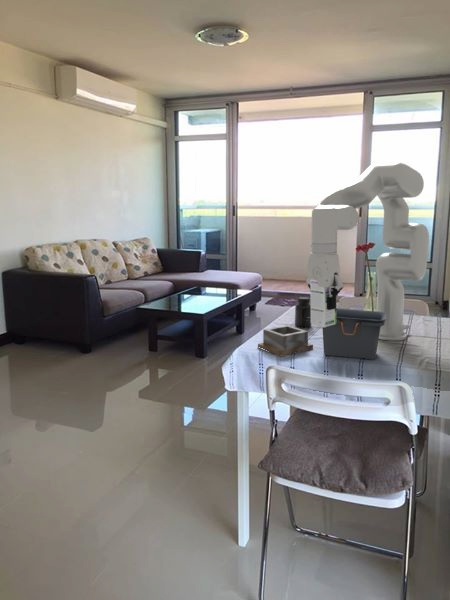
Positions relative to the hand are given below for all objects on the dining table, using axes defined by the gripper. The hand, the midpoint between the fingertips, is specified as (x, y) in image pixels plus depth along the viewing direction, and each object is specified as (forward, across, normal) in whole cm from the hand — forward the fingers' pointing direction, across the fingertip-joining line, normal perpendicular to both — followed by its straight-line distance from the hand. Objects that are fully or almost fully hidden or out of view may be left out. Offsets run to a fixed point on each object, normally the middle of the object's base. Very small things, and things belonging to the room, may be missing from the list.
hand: (323, 306), depth 153 cm
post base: (+19, -20, +1) cm, 28 cm away
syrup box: (+6, 0, 0) cm, 6 cm away
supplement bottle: (+20, -40, +27) cm, 52 cm away
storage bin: (+19, -2, +14) cm, 24 cm away
